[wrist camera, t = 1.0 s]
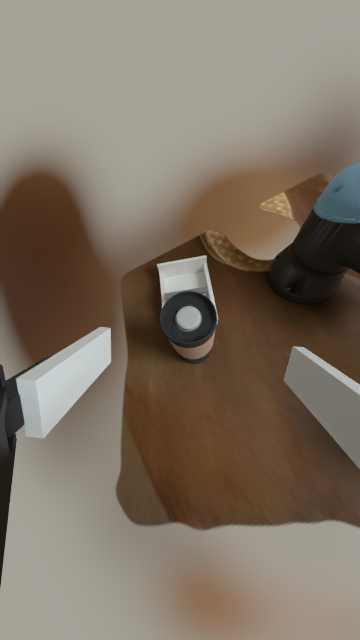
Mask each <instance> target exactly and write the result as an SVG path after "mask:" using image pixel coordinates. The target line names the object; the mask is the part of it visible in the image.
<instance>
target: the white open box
mask: <svg viewBox="0 0 360 640" xmlns="http://www.w3.org/2000/svg"><path fill="white" fill-rule="evenodd" d="M157 267H158V270H159V275H160V287H161V298H162V308H163V306H164V304H165V303H166V300H165V295H164V294H165V293H171V292H177V291H183V290H189V289H195V288H201V287H207V286H208V298H209V299H210V300H211V301H212V303H213V304H214V306H215V301H214V296H213V291H212V287H211V282H210V277H209V272H208V268H207V257H206V255H205V256H199V257H194V258H188V259H183V260H177V261H171V262H166V263H160V264H157ZM215 309H216V306H215ZM216 312H217V310H216ZM217 323H218V315H217ZM217 323H216V324H217Z"/></svg>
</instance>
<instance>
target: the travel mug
mask: <svg viewBox="0 0 360 640" xmlns="http://www.w3.org/2000/svg"><path fill="white" fill-rule="evenodd" d="M160 323H161V327H162V329H163V331H164V333H165V335H166V336H167V338H168V339H169V341H170V342H171V344H172V345H173V347H174V348H175V350H176V351H177V352H178V353H179V355H180V356H181V357H182V358H183V359H184V360H185V361H187V362H189V363H192V364H198V363H201V362H203V361H205V360H206V359H207V358H208V356H209V354H210V352H211V349H212V346H213V341H214V335H215V329H216V323H217V312H216V309H215V306H214V304H213V303H212V301H211V300H210V299H209V298H208V297H206V296H205V295H203V294H201V293H198V292H195V291H184V292H180V293H177V294H175V295H173V296H172V297H170V298H169V299H168V300H167V301H166V303H165V304H164V306H163V308H162V310H161V314H160Z"/></svg>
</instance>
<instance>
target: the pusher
mask: <svg viewBox="0 0 360 640" xmlns="http://www.w3.org/2000/svg"><path fill="white" fill-rule="evenodd" d="M184 291H195V292H198V293H201V294H203V295H205V296H206V297H208V286H207V287H201V288H195V289H189V290H183V291H177V292H171V293H165V294H164V295H165V300H166V301H167V300H168V299H169V298H170V297H172V296H173V295H175V294H177V293H180V292H184Z"/></svg>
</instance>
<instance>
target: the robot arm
mask: <svg viewBox="0 0 360 640" xmlns="http://www.w3.org/2000/svg"><path fill="white" fill-rule="evenodd" d="M348 269H352V270H354V271H356V272H358V273H360V162H358V163H355V164H353V165H351V166H349V167H347V168H346V169H344V170H342V171H341V172H340V173H338V174H337V175H336V176H335V177H334V178H333V179H332V180H331V182H330V183H329V185H328V186H327V187H326V189H325V190H324V192H323V193H322V195H321V196H320V197H319V198H318V199H317V200H316V202H315V205H314V208H313V209H312V211H311V213H310V214H309V216H308V218H307V219H306V221H305V223H304V224H303V226H302V228H301V229H300V231H299V233H298V234H297V236H296V238H295V240H294V241H293V243H291V244H290V245H289V246H288V247H287V248H285V249H284V250H283V251H282V252H280V253H279V254H278V255H277V256H276V257H275V259H274V260H273V262H272V264H271V266H270V268H269V273H268V276H269V281H270V284H271V286H272V287H273V289H274V290H275V291H276V292H277V293H278V294H279V295H280V296H282V297H283V298H285V299H287V300H289V301H292V302H295V303H300V304H313V303H317V302H320V301H323V300H324V299H326V298H327V297H329V296H330V295H331V294H333V293H334V292H335V291H336V290H337V288H338V287H339V285H340V283H341V280H342V278H343V277H344V275H345V273H346V271H347V270H348ZM110 363H111V329H110V328H106V327H99V328H98V329H96V330H94V331H93V332H91V333H90V334H88V335H86V336H85V337H83V338H81V339H80V340H78V341H76V342H75V343H73V344H72V345H70V346H68V347H67V348H65V349H63V350H62V351H60V352H58V353H57V354H55V355H52V356H50V357H47V358H44V359H42V360H40V361H39V362H37V363H35V365H32V366H30V367H29V368H28V369H25V370H24V371H22V372H20V373H19V374H17V375H15V376H13V377H12V378H10V379H8V380H6V381H5V377H4V371H3V367H2V365H0V584H1V576H2V567H3V558H4V548H5V540H6V531H7V522H8V512H9V503H10V494H11V484H12V476H13V466H14V457H15V449H16V440H17V439H16V434H15V432H17V431H18V430H19V429H20V428H21V427H22V426H23V425H24V428H25V434H26V436H28V437H36V438H45V436H46V435H47V434H48V433H49V432H50V431H51V430H52V428H53V427H54V426H55V425H56V424H57V423H58V422H59V421H60V419H61V418H62V417H63V416H64V415H65V414H66V413H67V411H68V410H69V409H70V408H71V407H72V406H73V405H74V404H75V402H76V401H77V400H78V399H79V398H80V397H81V396H82V394H83V393H84V392H85V391H86V390H87V389H88V388H89V386H90V385H91V384H92V383H93V382H94V381H95V380H96V379H97V377H98V376H99V375H100V374H101V373H102V372H103V371H104V369H105V368H106V367H107V366H108V365H109V364H110ZM284 381H285V382H286V384H287V385H288V386H289V387H290V388H291V389H292V391H293V392H294V393H295V394H296V395H297V396H298V398H299V399H300V400H301V401H302V402H303V404H304V405H305V406H306V407H307V408H308V409H309V411H310V412H311V413H312V414H313V415H314V416H315V418H316V419H317V420H318V421H319V422H320V423H321V425H322V426H323V427H324V428H325V429H326V430H327V432H328V433H329V434H330V435H331V436H332V437H333V439H334V440H335V441H336V442H337V443H338V444H339V446H340V447H341V448H342V449H343V450H344V451H345V453H346V454H347V455H348V456H349V457H350V458H351V460H352V461H353V462H354V463H355V464H356V465H357V467H358V468H359V469H360V385H359V384H358V383H356V382H355V381H353V380H352V379H350V378H349V377H347V376H346V375H344V374H343V373H341V372H340V371H338V370H337V369H335V368H334V367H332V366H331V365H329V364H328V363H326V362H325V361H323V360H322V359H320V358H319V357H317V356H316V355H314V354H313V353H311V352H310V351H308V350H307V349H305V348H304V347H294V346H293V348H292V352H291V355H290V359H289V363H288V366H287V370H286V374H285V378H284Z"/></svg>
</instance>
